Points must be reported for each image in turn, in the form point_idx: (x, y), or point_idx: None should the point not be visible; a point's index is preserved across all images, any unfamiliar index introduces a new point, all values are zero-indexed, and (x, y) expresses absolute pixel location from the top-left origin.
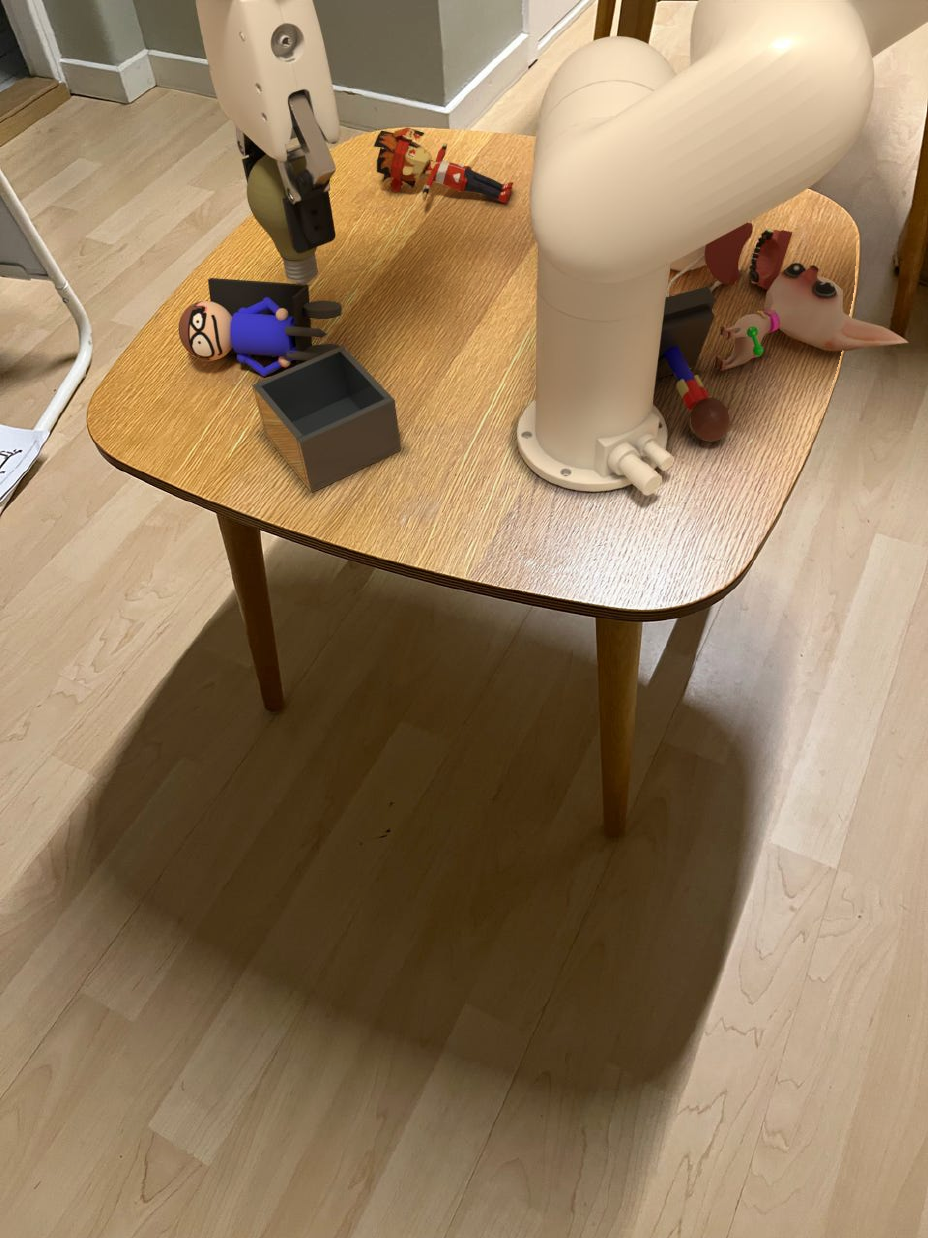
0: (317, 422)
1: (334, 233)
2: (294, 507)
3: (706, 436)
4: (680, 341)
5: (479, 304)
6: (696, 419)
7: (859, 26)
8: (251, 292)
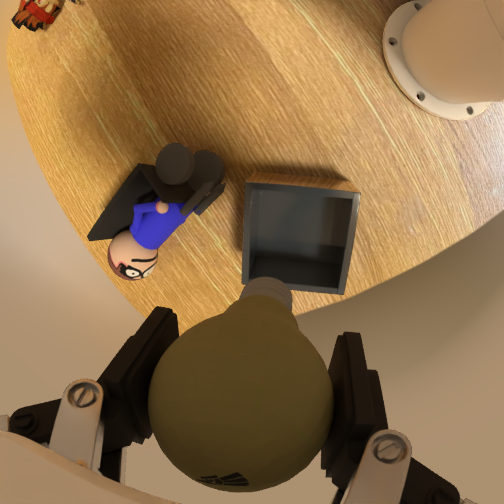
0: (273, 220)
1: (360, 338)
2: None
3: None
4: None
5: (218, 6)
6: None
7: None
8: (116, 211)
